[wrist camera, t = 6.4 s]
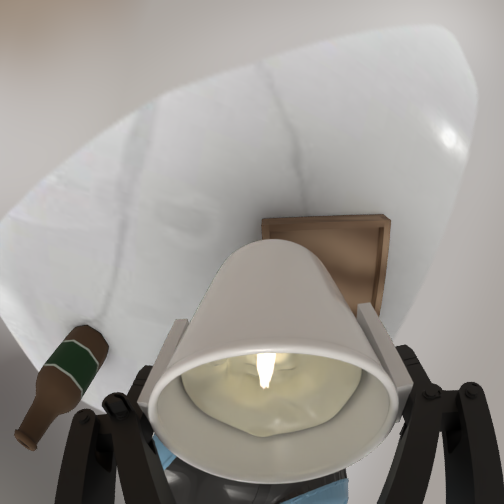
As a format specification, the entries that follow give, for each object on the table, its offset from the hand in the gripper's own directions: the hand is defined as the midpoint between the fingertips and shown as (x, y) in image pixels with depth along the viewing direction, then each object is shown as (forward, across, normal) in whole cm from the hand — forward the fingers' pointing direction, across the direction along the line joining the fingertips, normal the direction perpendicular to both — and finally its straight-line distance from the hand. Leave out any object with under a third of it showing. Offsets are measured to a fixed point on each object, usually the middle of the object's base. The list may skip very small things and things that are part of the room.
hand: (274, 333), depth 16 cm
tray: (+19, -6, +6) cm, 21 cm away
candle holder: (+5, 0, 0) cm, 5 cm away
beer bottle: (+20, +32, +16) cm, 41 cm away
